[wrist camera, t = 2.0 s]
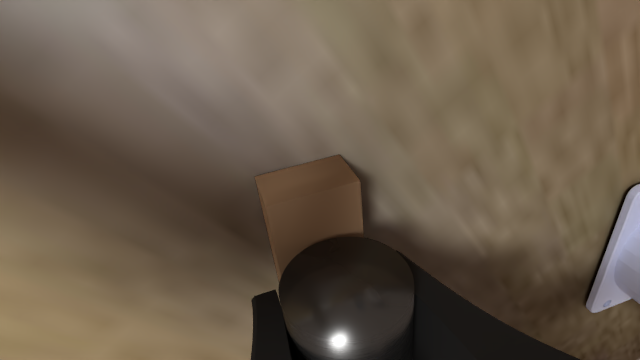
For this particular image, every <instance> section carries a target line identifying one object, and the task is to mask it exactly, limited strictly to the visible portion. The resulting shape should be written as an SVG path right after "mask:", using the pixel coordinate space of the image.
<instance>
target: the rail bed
mask: <svg viewBox="0 0 640 360" xmlns="http://www.w3.org/2000/svg"><path fill="white" fill-rule="evenodd" d="M255 181H256V185H257V189H258V194H259V198H260V202H261V206H262V211H263V215H264V219H265V224H266V228H267V232H268V237H269V241H270V245H271V249H272V254H273V258H274V262H275V267H276V271H277V275H278V280H279V282H280V279H281V276H282V274H283V271H284V269H285V268H286V266H287V265H288V264H289V262H290V261H291V260H292V259H293V258H294V257H295V256H296V255H297V254H298V253H300V252H301V251H303V250H304V249H306V248H307V247H309V246H311V245H313V244H315V243H318V242H321V241H324V240H327V239H331V238H337V237H362V238H364V232H363V217H362V201H361V186H360V180H359V179H358V177H357V176H356V175H355V174H354V172H353V171H352V170H351V169H350V167H349V166H348V165H347V163H346V162H345V161H344V160H343V158H342V157H341V156H340V155H336V156H332V157H328V158H324V159H320V160H316V161H312V162H309V163H305V164H301V165H297V166H293V167H289V168H285V169H281V170H278V171H274V172H270V173H266V174H262V175H258V176H255Z"/></svg>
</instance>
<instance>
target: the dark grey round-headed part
mask: <svg viewBox="0 0 640 360" xmlns="http://www.w3.org/2000/svg"><path fill="white" fill-rule="evenodd" d="M279 299H280V304H281V308H282V312H283V316H284V320H285V324H286V329H287V333H288V337H289V341H290V345H291V349H292V354H293V358H294V360H412V357H413V320H414V279H413V274H412V272H411V269H410V267H409V266H408V264H407V262H406V261H405V260H404V259H403V257H402V256H401V255H400V254H398V253H397V252H396V251H395V250H393V249H392V248H390V247H389V246H387V245H385V244H383V243H380V242H378V241H375V240H371V239H367V238H362V237H337V238H331V239H327V240H324V241H321V242H318V243H315V244H313V245H311V246H309V247H307V248H306V249H304V250H303V251H301V252H300V253H298V254H297V255H296V256H295V257H294V258H293V259H292V260H291V261H290V262H289V264H288V265H287V266H286V268H285V269H284V271H283V274H282V276H281V279H280V282H279Z"/></svg>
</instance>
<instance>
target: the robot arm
mask: <svg viewBox="0 0 640 360" xmlns="http://www.w3.org/2000/svg"><path fill="white" fill-rule="evenodd" d="M396 252H397V253H398V254H400V255H401V256H402V257H403V259H404V260H405V261H406V262H407V264H408V266H409V267H410V269H411V272H412V274H413V279H414V320H413V357H412V360H580V359H578V358H575V357H573V356H571V355H569V354H566V353H564V352H562V351H560V350H557V349H555V348H553V347H551V346H548V345H546V344H544V343H542V342H540V341H538V340H536V339H534V338H532V337H530V336H528V335H526V334H524V333H522V332H520V331H518V330H516V329H514V328H512V327H511V326H509V325H507V324H505V323H503V322H502V321H500V320H498V319H496V318H495V317H493V316H491V315H489V314H488V313H486V312H485V311H483V310H481V309H480V308H478V307H476V306H475V305H473V304H472V303H470V302H469V301H467V300H465V299H464V298H462V297H461V296H459V295H458V294H456V293H455V292H454V291H452V290H451V289H449V288H448V287H446V286H445V285H443V284H442V283H440V282H439V281H438V280H436V279H435V278H433V277H432V276H431V275H429V274H428V273H427V272H425V271H424V270H423V269H421V268H420V267H419V266H417V265H416V264H415V263H413V262H412V261H411V260H409V259H408V258H407V257H405V256H404V255H403V254H402V253H400V252H399V251H396ZM632 298H633V299H634V300H635V301H636V302H638V303H639V304H640V184H638V185H636V186H634V187H633V188H631V189H630V191H629V192H628V193H627V195H626V198H625V201H624V203H623V206H622V209H621V211H620V214H619V217H618V219H617V222H616V225H615V227H614V230H613V233H612V236H611V238H610V241H609V244H608V246H607V249H606V252H605V254H604V257H603V260H602V262H601V265H600V268H599V271H598V273H597V276H596V279H595V281H594V284H593V287H592V289H591V292H590V295H589V297H588V300H587V303H586V308H587V309H588V310H589V311H590V312H592V313H597V312H599V311H602V310H604V309H607V308H609V307H612V306H614V305H617V304H620V303H622V302H625V301H627V300H630V299H632ZM252 307H253V342H252V353H251V360H294V358H293V354H292V349H291V345H290V341H289V337H288V333H287V329H286V324H285V320H284V316H283V312H282V308H281V305H280V302H279V299H278V296H277V293H276V290H272V291H269V292H266V293H263V294H260V295H257V296H254V298H253V299H252Z"/></svg>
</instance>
